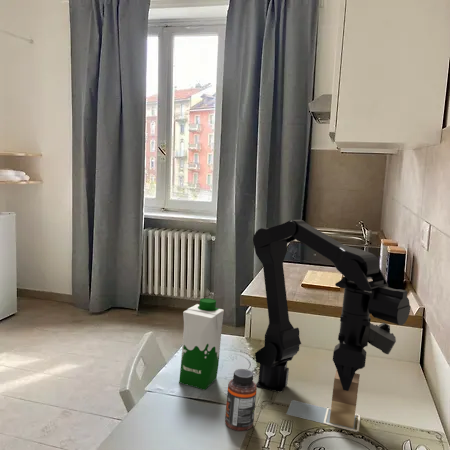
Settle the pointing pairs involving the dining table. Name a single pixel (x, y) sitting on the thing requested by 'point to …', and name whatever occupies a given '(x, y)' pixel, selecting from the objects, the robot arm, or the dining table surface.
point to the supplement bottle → (241, 401)
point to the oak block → (342, 414)
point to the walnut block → (343, 395)
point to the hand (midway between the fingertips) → (347, 381)
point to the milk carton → (201, 344)
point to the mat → (310, 412)
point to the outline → (341, 426)
